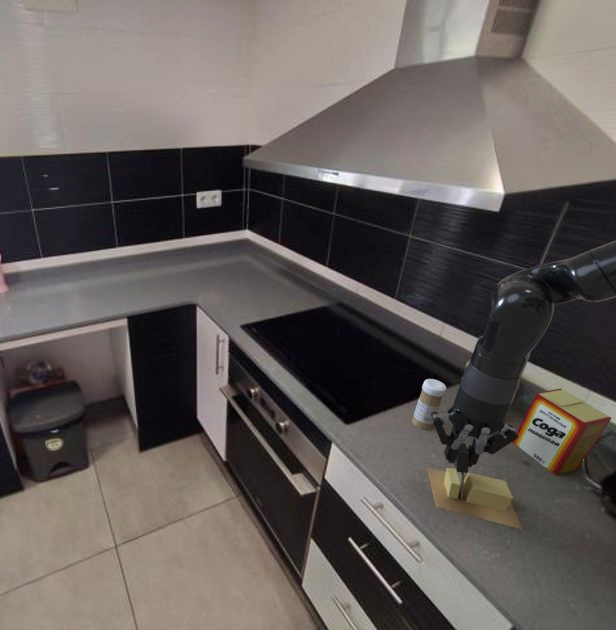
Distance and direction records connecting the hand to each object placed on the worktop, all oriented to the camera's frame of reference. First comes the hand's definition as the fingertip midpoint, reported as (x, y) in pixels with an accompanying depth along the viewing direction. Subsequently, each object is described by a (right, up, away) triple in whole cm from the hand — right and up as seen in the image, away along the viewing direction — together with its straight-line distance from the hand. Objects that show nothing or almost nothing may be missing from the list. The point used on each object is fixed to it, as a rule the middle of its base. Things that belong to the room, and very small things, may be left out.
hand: (458, 461), depth 73 cm
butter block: (+6, -8, +2) cm, 10 cm away
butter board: (+4, -9, +3) cm, 10 cm away
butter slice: (+1, -7, +4) cm, 8 cm away
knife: (+2, -8, +3) cm, 8 cm away
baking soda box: (+27, -4, +12) cm, 30 cm away
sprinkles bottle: (+5, 0, +21) cm, 22 cm away
